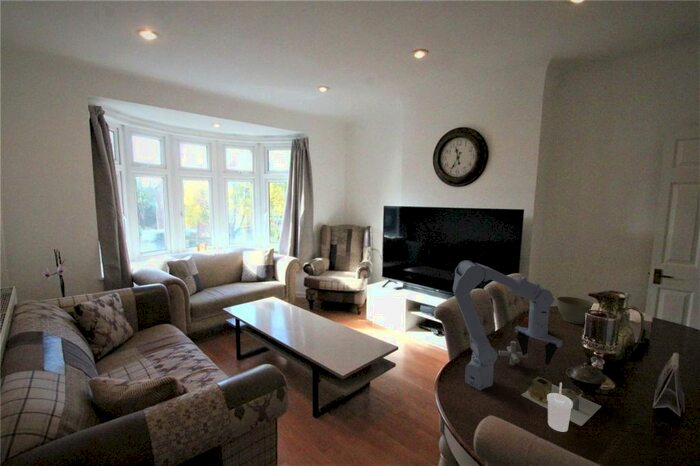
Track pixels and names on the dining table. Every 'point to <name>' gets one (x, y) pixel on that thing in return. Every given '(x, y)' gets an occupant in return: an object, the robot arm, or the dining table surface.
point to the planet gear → (540, 389)
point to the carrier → (580, 405)
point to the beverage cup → (559, 410)
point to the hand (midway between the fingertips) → (535, 358)
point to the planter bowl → (573, 309)
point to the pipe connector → (512, 353)
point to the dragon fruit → (526, 321)
